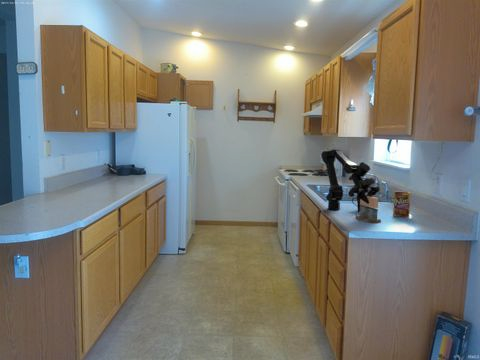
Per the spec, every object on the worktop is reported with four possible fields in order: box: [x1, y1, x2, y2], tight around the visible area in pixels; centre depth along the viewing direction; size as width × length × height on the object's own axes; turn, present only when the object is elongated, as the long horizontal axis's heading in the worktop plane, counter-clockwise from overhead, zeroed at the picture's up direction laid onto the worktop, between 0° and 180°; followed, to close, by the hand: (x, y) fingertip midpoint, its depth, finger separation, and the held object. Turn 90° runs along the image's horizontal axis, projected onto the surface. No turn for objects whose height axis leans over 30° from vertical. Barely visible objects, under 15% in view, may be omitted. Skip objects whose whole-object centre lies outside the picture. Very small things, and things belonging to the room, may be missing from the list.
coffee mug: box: [351, 197, 361, 212], centre depth 248 cm, size 12×9×10 cm
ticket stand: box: [355, 205, 382, 224], centre depth 221 cm, size 13×7×8 cm, turn 23°
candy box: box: [392, 190, 412, 219], centre depth 232 cm, size 9×4×15 cm, turn 60°
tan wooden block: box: [360, 194, 379, 209], centre depth 220 cm, size 12×2×6 cm, turn 23°
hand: (370, 203), depth 219 cm, fingers closed on tan wooden block, 2 cm apart
